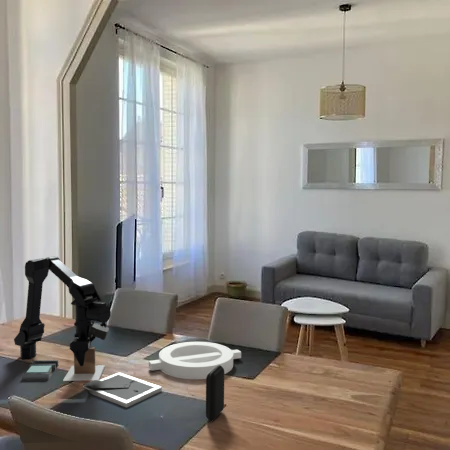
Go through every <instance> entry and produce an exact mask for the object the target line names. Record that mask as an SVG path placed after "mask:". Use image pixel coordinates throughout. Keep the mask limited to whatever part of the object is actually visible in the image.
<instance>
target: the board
mask: <svg viewBox="0 0 450 450" xmlns="http://www.w3.org/2000/svg"><path fill="white" fill-rule="evenodd" d="M105 368H106V365H105V364H104V365H103V364H102V365H101V364H100V365H99V364H98V365H96V364H95V373H94V374H74V365H71V366H70V368H69V369H68V372H67V373H66V375H65V376H64V378H63V380H62V381H63V382H65V381H66V382H68V381H69V382H72V381H73V382H77V381H78V382H79V381H80V382H81V381H94V380H101V379H102V376H103V374H104V371H105Z"/></svg>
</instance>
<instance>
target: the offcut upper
mask: <svg viewBox="0 0 450 450" xmlns="http://www.w3.org/2000/svg"><path fill="white" fill-rule="evenodd" d="M51 369H52V366H31V367H30V366H29V368H28V370H27V371H26V373H49V371H50V370H51Z"/></svg>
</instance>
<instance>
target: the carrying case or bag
mask: <svg viewBox="0 0 450 450" xmlns="http://www.w3.org/2000/svg"><path fill="white" fill-rule="evenodd" d="M205 380H206V382H205V416H206V419H207V420H208V421H209V422H213V421H214V420H216V418H217V417H219V415H220V414H221V412H222V411H223V410H224V407H225V374H224V369H223V368H222V366H221V365H218V366H217V367H215V368H214V369H213V370H212V371H211V372H210V373H209V374H208V375H207V378H206V379H205Z"/></svg>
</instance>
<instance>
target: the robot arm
mask: <svg viewBox="0 0 450 450" xmlns="http://www.w3.org/2000/svg"><path fill="white" fill-rule="evenodd" d="M49 271H50V272H51V273H53V275H54V276H55V277H57V278H58V280H60V281H61V282H62V283H63V284H64V285H66V287H67V288H68V293H69V294H70V296H71V297H72V298H73V299H74V300H73V301H71V302H70V305H71V306H75V307H74V308H75V311H74V313H75V315H74V316H75V322H74V323H73V324H74V325H73V326H74V327H75V333H74V336H73V337H74V338H73V339H72V341H70V342H69V350H70V351H71V352H72V353H73V356H74V355H75V357H76V359H77V361H78V363H79V365H80V366H83V365H84V360H85V354H86V351H88V350H89V348H90V347H92V342H93V341H94V340H95V339H96V338H98V339H100V340H103V341H105V340H106V339H107V336H108V333H109V331H110V328H109V327H108V323H107V322H108V321H109V320H110V318H111V314H112V312H111V309H110V308H109V307H108V306H107V302H102V300H101V297H100V294H99V293H98V290H97V289H96V287H95V284H93V282H91V281H89V280H88V279H86V278H83V277H80V276H78V275H77V274H75V273H74V272H73V271H72V270H71V269H70V268H69V266H67V265H66V264H64V263H63V261H61V259H60V258H59V257H58V256H48V257H45V258H44V257H43V258H37V259H29V260H27V261H26V262H25V264H24V275H25V277H26V280H27V281H28V287H27V298H26V309H25V311H26V312H25V318H24V320H23V321H22V322H21V324H20V326H19V331H18V333H17V334H16V336H14V338H13V341H14V345H15V346H19V347H20V349H19V350H20V358H21V360H30V359H32V358H36V356H37V342H41V341H42V337H43V335H44V334H45V326H46V325H45V323H44V322H42V320H41V319H40V317H41V316H40V315H41V307H42V305H41V304H42V297H43V296H42V294H43V284H44V281H45V280H46V279H47V277H48V275H49ZM95 322H98V324H97V323H95Z"/></svg>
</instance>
